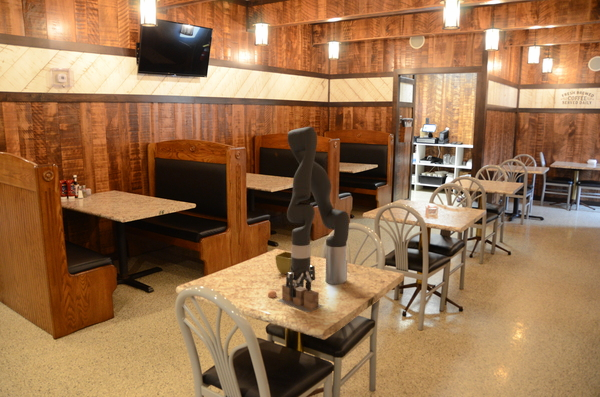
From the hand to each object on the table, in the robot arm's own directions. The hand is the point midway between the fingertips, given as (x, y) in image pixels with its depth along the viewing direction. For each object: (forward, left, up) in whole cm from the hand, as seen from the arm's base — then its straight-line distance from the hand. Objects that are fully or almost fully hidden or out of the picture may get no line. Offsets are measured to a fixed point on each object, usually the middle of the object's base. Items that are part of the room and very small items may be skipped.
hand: (300, 294), depth 192 cm
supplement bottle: (-9, -12, -5) cm, 16 cm away
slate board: (0, 0, -5) cm, 5 cm away
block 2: (0, +6, -4) cm, 7 cm away
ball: (+3, -14, -5) cm, 15 cm away
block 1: (0, -6, -4) cm, 7 cm away
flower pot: (-25, -33, -5) cm, 42 cm away
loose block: (0, 0, -4) cm, 4 cm away
